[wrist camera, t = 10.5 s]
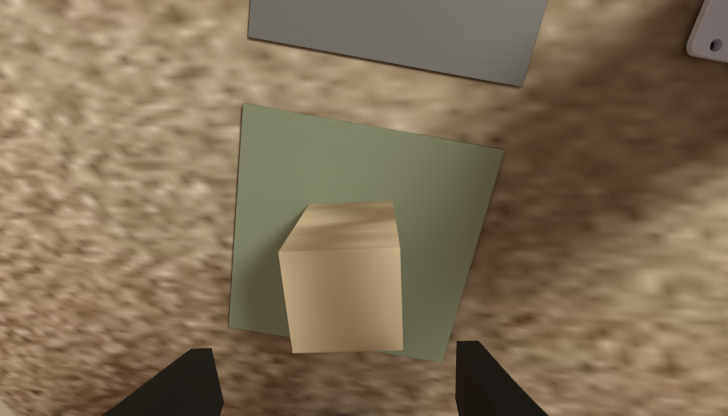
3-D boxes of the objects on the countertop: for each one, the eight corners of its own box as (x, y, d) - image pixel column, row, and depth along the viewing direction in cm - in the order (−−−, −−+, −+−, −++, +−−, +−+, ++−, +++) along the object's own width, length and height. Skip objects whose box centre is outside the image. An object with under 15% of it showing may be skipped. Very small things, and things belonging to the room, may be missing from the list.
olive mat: (502, 149, 17) (504, 150, 17) (441, 360, 21) (442, 362, 21) (244, 103, 17) (243, 103, 17) (230, 325, 21) (228, 327, 21)
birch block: (392, 200, 18) (399, 247, 12) (395, 276, 19) (403, 350, 14) (308, 204, 18) (278, 252, 13) (317, 279, 20) (292, 353, 14)
